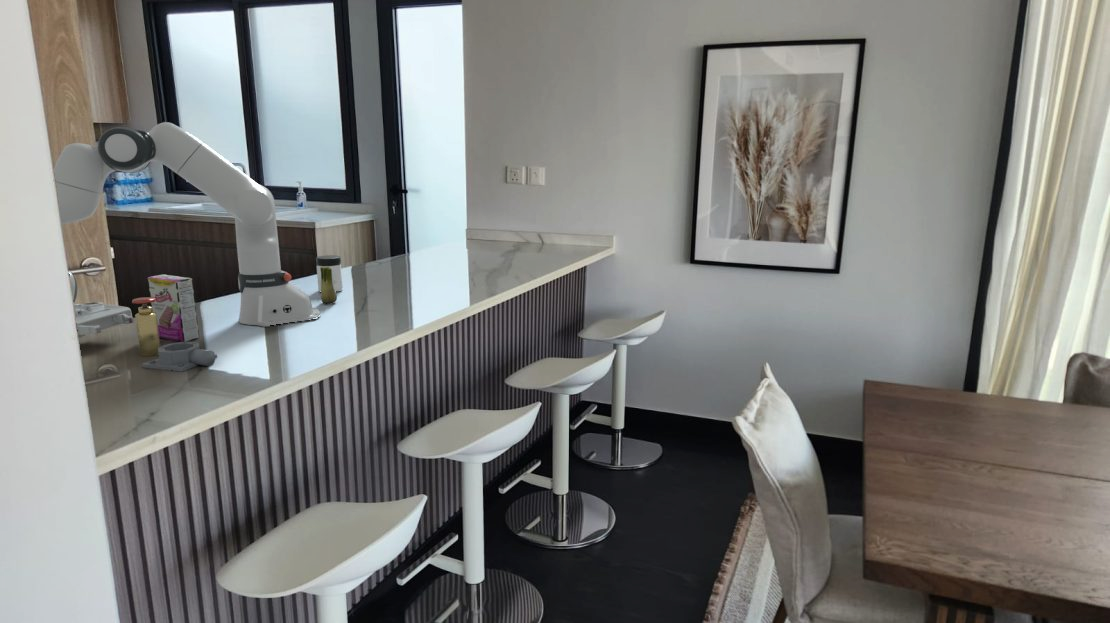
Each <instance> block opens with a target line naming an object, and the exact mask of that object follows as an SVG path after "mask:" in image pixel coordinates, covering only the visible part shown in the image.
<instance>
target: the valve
mask: <svg viewBox="0 0 1110 623" xmlns="http://www.w3.org/2000/svg"><path fill="white" fill-rule="evenodd" d="M155 301H156V300H155V298H154V297H150V296H148V297H136V298H133V299H132V301H131V303H132V304H134V305H141V306H139V307H137V308H138V313H136V314H135V315H134V317H135V324H136V330H137V331H136V332H137V338H138V344H139V353H140V356H143V357H153V356H157V355H159V354H158V347H161V346H162V345H161V338H159V330H158V323H157V315H156V312H152V305H148V304H151V303H152V302H155Z"/></svg>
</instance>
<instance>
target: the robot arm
mask: <svg viewBox="0 0 1110 623" xmlns="http://www.w3.org/2000/svg"><path fill="white" fill-rule="evenodd" d="M151 162H154V163H155V162H156V163H159V164H162V165H163V166H166V168H168V169H170V170H171V171H172V172H174V173H175V174H177V175H178V176H179V177H181V178H182V179H183V180H185V181H187V183H189V184H190V185H192V186H194V187H195V188H196V189H198V190H199V191H200V192H202V193H203V194H204V195H206V196H207V197H208V198H209V199H211V201H212V202H215V203H216V205H218V206H219V207H220V208H222V209H223V210H225V211H226V212H227V213H229V214H230V215H231V216H232V217H234V225H235V226H234V227H235V237H236V238H235V239H236V240H235V241H236V251H237V260H238V269H239V272H238V274H237V275H238V277H237V280H238V290H239V292H240V308H239V310H240V311H239V316H238V321H237V322H238V323H240V324H242V325H249V326H258V327H271V326H270V325H274V326H277V325H276V324H281V325H284V324H283V323H288V324H290V323H289V322H295V323H298V322H297V321H302V322H304V321H303V320H309V319H313V318H316V317H318V316H319V315H320V316H321V312H320V310H319V309H318V308H316V307H313V305H312V302H311V298H310V296H309V295H308V294H307V293H306V292H305V291H303V290H302V289H300V288H298V287H296V286H295V285H293V284H292V283H291V282H290V281H291V280H292V275H291V274H290V273H288V272H287V271H284V270H282V269H281V268H282V267H281V259H280V258H281V256H280V247H279V244H280V243H279V237H278V235H279V234H278V225H277V214H276V201H275V197H274V195H273V194H272V191H270V190H269V188H267V187H265V186H264V185H262V184H259V183H257V182H256V181H255V180H253V179H252V178H251V177H250V176H248V175H247V174H245V173H244V172H243V171H242V170H241V169H239V168H238V167H236V166H235V165H234V164H233V163H232V162H231V161H230V160H228V159H227V158H225V157H224V156H223V155H221V154H220V153H218V152H217V151H216V150H214V149H213V148H212V147H211V146H210V145H208V144H207V143H205V142H204V141H202V140H201V139H200V138H198V137H197V136H195V135H193V133H191V132H189V131H187V130H185V129H184V128H181V127H180V126H178V125H176V124H174V123H172V122H168V121H167V122H166V121H163V122H161V123H158V124H156V125H155V126H153V127H152V128H151V129H150V130H149V131H148V132H147V131H146V130H140V129H135V128H131V127H126V126H125V127H124V126H117V127H112V128H109V129H107V130H105V131H104V132H103V133H102V134H101V135H100V136H99V138H98V142H97V144H96V145H92V144H87V143H81V142H75V143H69V144H67V145H66V146H65V147H64V148H63V149H62V151H61V153H60V154H59V156H58V159H57V160H56V163H55V166H54V167H53V170H54V173H55V179H56V186H57V193H58V201H59V208H60V215H61V222H62V225H61V226H63V225H67V224H73V223H78V222H81V221H84V220H86V219H88V218H90V217H91V216H93V214H95V212H96V211H97V210H98V209H97V208H98V207H99V204H100V201H101V197H102V194H103V191H104V186H105V183H106V180H107V179H108V176H109V175H110V174H111V173H123V174H124V173H125V174H132V173H133V174H134V173H139V172H142V171H143V170H145V169H146V168H148V166H149V165H150V164H151ZM69 274H70V281H71V289H72V295H73V302H74V310H75V316H76V323H77V330H78V337H79V339H81V338H83V337H84V336H86V335H97V334H99V333H101V332H102V331H103V330H107V329H110V328H114V327H117V326H120V325H121V326H122V325H131V324H133V323H135V322H134V321H135V320H134V317H133V314H132V310H131V308H130V307H129V306H128V307H127V306H122V305H115V304H104V302H103V301H102V302H100V301H97V302H88V303H76V302H75V301H76V300H77V297H78V287H79V286H78V281H77V279H76V276H75V275H74V273H72V271H71V270H69Z"/></svg>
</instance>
